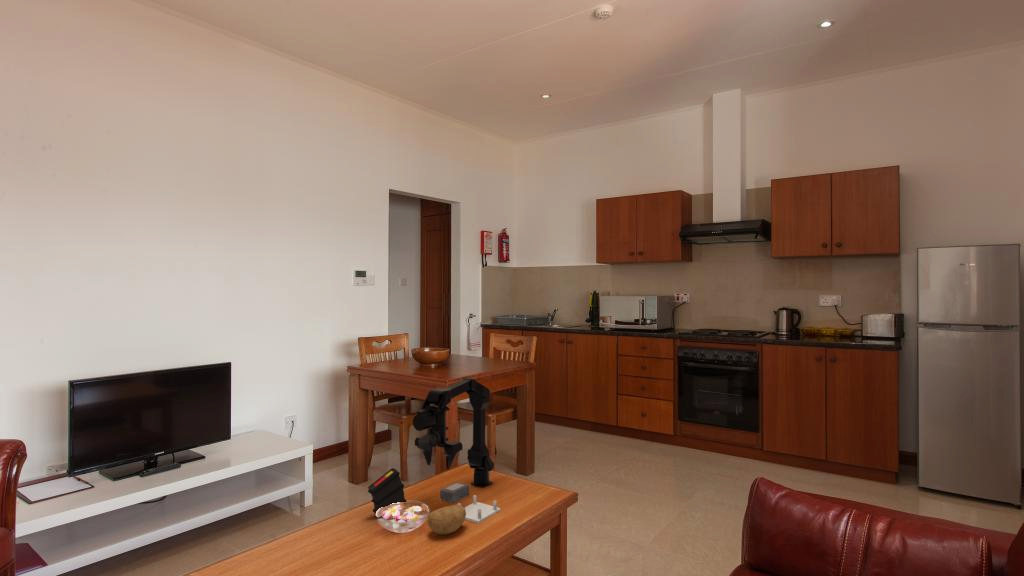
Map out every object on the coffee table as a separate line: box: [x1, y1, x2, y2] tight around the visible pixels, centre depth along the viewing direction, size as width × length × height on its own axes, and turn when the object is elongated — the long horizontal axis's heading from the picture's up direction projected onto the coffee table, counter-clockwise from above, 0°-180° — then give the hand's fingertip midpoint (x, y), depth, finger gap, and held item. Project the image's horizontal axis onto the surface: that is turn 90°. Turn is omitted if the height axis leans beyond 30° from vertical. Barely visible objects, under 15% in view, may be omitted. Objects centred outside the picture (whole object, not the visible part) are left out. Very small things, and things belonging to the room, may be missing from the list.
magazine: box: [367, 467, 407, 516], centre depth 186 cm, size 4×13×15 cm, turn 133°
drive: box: [439, 481, 470, 504], centre depth 200 cm, size 10×6×4 cm, turn 147°
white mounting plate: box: [456, 494, 501, 524], centre depth 186 cm, size 13×11×4 cm
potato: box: [427, 504, 466, 536], centre depth 171 cm, size 10×14×8 cm
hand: (438, 467), depth 193 cm, fingers open, 9 cm apart
